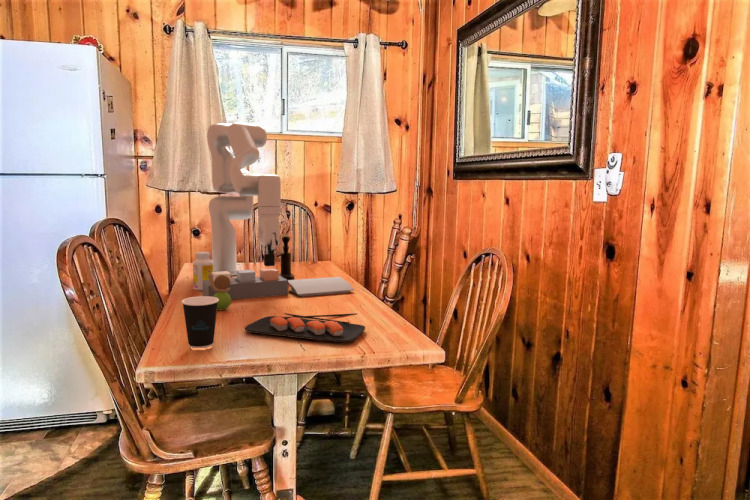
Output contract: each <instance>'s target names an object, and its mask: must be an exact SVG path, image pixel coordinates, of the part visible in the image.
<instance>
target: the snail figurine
mask: <svg viewBox="0 0 750 500" xmlns="http://www.w3.org/2000/svg"><path fill="white" fill-rule="evenodd" d="M208 272H210V270H208ZM208 278H209V281H210V285H211V287H212V289H213V290H215V291H217V292H218V293H216V294H215V295H214V296H213V297H216V298H218V299H219V301H218V302H217V311H224V310H227V309H228V308H229V307H230V306H231V303H232V300H231V297H230V295H229V294H228V293H226V292H227V291H229V290H230V288H228V287H229V286H230V279H229V278H228V277H227V276H226V275H219V276H218V277H216V279H215V281H213V274H208Z"/></svg>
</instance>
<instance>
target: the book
mask: <svg viewBox="0 0 750 500" xmlns="http://www.w3.org/2000/svg"><path fill="white" fill-rule="evenodd" d="M288 285H289V287H290V290H291V292H292V293H295V294H296V295H297V296H299V297H312V296H313V297H314V296H324V295H325V296H326V295H334V294H335V295H336V294H348V293H350V291H355V289H354V287H353V286H352V285H351V284H350V283H349V281H347V280H345V279H344V278H343V277H341V276H335V277H330V276H329V277H317V278H300V279H294V280H288Z"/></svg>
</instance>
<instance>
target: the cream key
mask: <svg viewBox="0 0 750 500" xmlns="http://www.w3.org/2000/svg"><path fill="white" fill-rule="evenodd" d="M212 274H213V281H215V279H216V277H218V276H219V275H226V276H227V277H228V278H229V279H230V283H231V278H232V276H231V273H229V272H228V271H221V272H212Z"/></svg>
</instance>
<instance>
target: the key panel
mask: <svg viewBox="0 0 750 500" xmlns="http://www.w3.org/2000/svg"><path fill="white" fill-rule="evenodd" d="M228 288H230V290H229V291H227V292H226V293H228V294H229V295H230V297H231V301H232V300H241V299H254V298H265V297H266V298H267V297H276V296H277V297H278V296H280V297H281V296H288V295H289V283H288V280H287V279H285V278H283V277H281V276H279V280H268V281H263V280H261V279H260V276H255V281H253V282H238V281H237V279H236V277H235V278H234V277H231V283H230V286H229V287H228ZM216 293H218V292H217V291H215V290H213V289H212V287H211V285H210V281H209V280H203V290H202V296H210V297H213V296H214V295H215V294H216Z"/></svg>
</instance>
